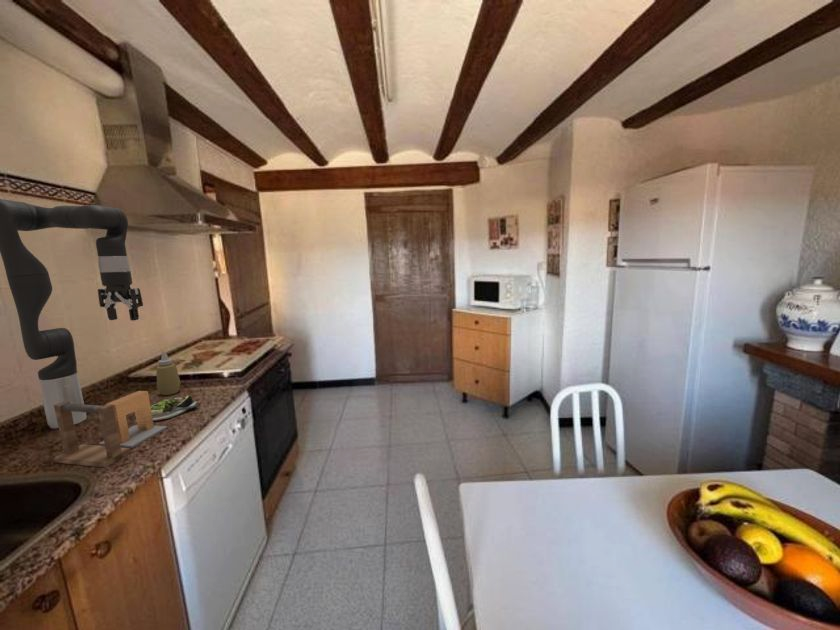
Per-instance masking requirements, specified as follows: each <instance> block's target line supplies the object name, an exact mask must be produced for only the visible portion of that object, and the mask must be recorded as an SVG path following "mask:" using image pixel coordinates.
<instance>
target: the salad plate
mask: <svg viewBox="0 0 840 630" xmlns="http://www.w3.org/2000/svg"><path fill="white" fill-rule="evenodd" d="M198 406H199V404H198V402H197V401H196V400H193V399H192V396H191V395H190V394H188V395H186V396H185V397H174V398H173V397H172V398H171V397H170V398H167V399H163V400H160V401H159V402H157V403H155V404H152V405H150V407H151V413H152V419H153V422H156V421H162V420H167V419H168V420H169V419H172V418H174V417H176V416H179V415H182V414H184V413H187V412H189V411H191V410H193V409H194V408H196V407H198ZM134 417H136V415H135V414H134ZM134 422H135V423H137V421H136V419H134Z"/></svg>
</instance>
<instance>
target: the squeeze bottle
mask: <svg viewBox="0 0 840 630" xmlns="http://www.w3.org/2000/svg"><path fill="white" fill-rule="evenodd" d="M160 358H161V359H160V360H158V361H157V362H158V365H157V367H156V370H155V371H156V388H157V389H158V391H159V393H160V395H162V396H170V395H173V394H174V395H175V394H176V393H177V394H178V393H179V391H180V387H181V380H180V375H179V372H178V369H177V365H176V363H173V359H172V358H169V357H168V354H167V352H166V351H162V352H161V357H160Z"/></svg>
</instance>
